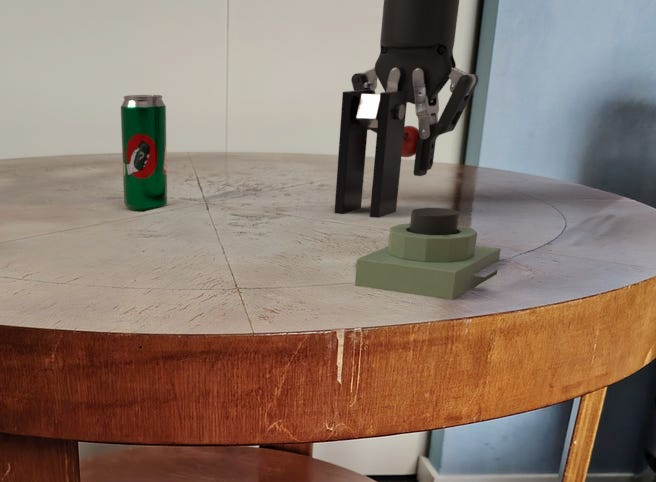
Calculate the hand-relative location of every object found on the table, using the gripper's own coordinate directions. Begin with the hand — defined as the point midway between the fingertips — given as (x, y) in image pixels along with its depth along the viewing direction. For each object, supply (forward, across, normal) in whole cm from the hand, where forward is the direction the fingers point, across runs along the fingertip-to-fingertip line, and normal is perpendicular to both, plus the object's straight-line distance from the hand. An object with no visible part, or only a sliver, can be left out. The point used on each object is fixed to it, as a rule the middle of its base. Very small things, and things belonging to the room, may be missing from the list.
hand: (403, 173), depth 99 cm
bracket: (+4, 0, +9) cm, 10 cm away
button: (0, -15, +29) cm, 33 cm away
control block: (+4, -15, +29) cm, 33 cm away
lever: (-3, 0, +5) cm, 6 cm away
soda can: (+4, +26, +13) cm, 29 cm away
